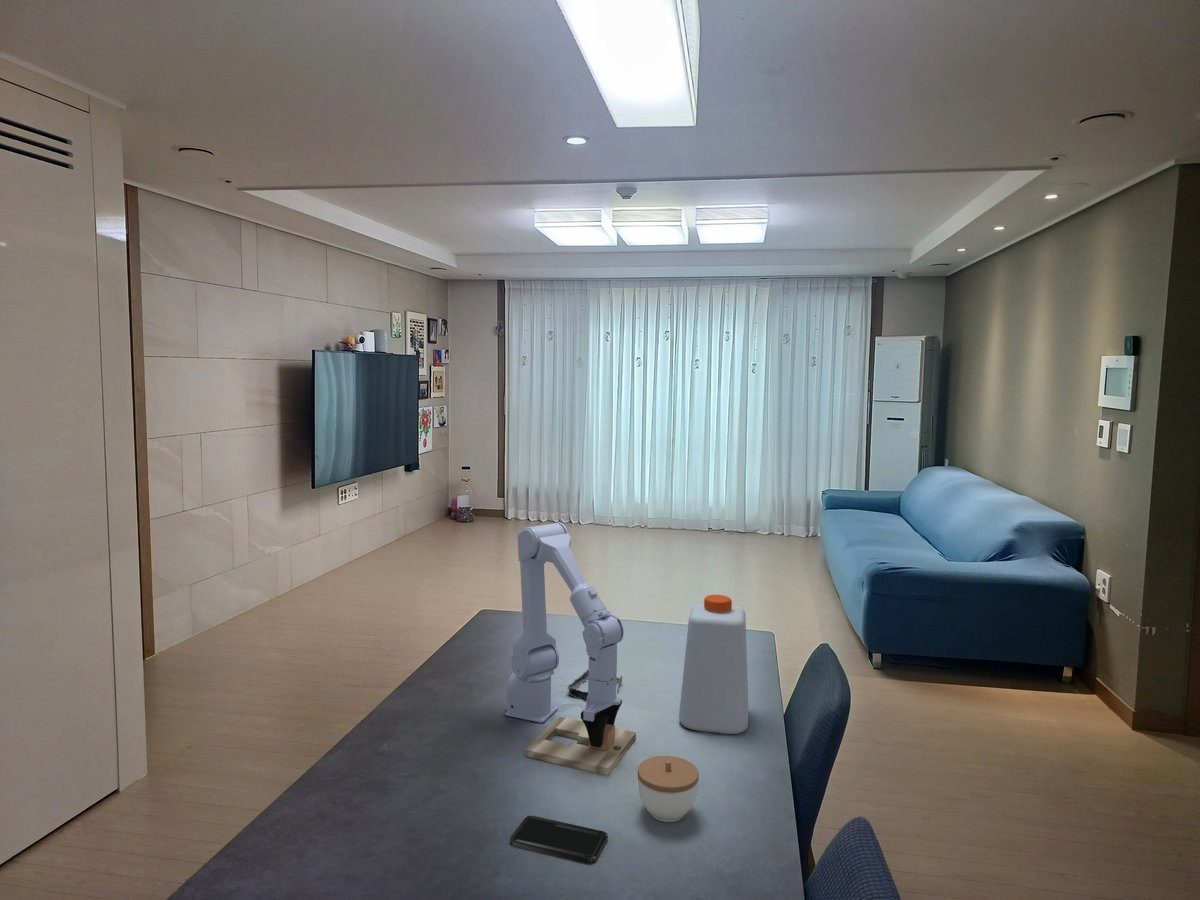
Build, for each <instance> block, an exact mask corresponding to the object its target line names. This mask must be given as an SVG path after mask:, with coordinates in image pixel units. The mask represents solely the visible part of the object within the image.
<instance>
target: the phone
mask: <svg viewBox="0 0 1200 900" xmlns="http://www.w3.org/2000/svg"><path fill="white" fill-rule="evenodd" d="M608 835H609V834H608V833H607V832H605V831H604V830H599V829H595V828H589V827H585V826H581V825H576V824H572V823H569V822H568V823H567V822H564V821H558V820H554V819H549V818H545V817H540V816H536V815H527V816H526V817H525V818H524V819H523V820H522V821H521V823H519V826H517V827H516V829H515V830H514V832H513V833H512V834H511V836H510V839H509V840H510V842H509V843H510V845H512V846H513V847H517V848H521V849H525V850H530V851H534V852H538V853H542V854H546V855H549V856H550V855H551V856H553V857H554V856H555V857H558V858H562V859H567V860H571V861H574V862H575V861H576V862H579V863H583V864H588V865H590V864H591V865H592V864H594V863H596V862H597V860H598V859H599V856H600V855H601V854H602V852H603V850H604V848H605V846H606V844H607V842H608V840H609V839H608V838H609V837H608Z"/></svg>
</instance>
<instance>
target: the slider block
mask: <svg viewBox="0 0 1200 900" xmlns="http://www.w3.org/2000/svg"><path fill="white" fill-rule="evenodd" d="M615 728H616V725H615V724H614V725H610V724H606V726H605V730H604V736H603V742H602V746H601V747H600V748H597V747H593V746H591V744H590V741H589V745H588V746H589V747H593V748H597V749H602V750H607V751H608V750H609V749H610V748H611V747H612V745H613V743H614V742H615Z"/></svg>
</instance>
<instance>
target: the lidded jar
mask: <svg viewBox="0 0 1200 900" xmlns="http://www.w3.org/2000/svg"><path fill="white" fill-rule="evenodd" d="M699 773H700V772H699V769H698V768H697V766H696V765H695V764H693V763H692V762H691V761H689V760H688V759H687V760H686V758H685V759H684V758H681V757H679V756H678V757H677V756H674V755H673V756H672V755H658V756H652V757H648V758H647V759H644V760H643V761H641V763H640V764H639V765H638V767H637V777H638V778H637V785H638V795H639V798H640V801H641V803H642V805H643V807H644V808H645V809H646V810H647V812H648V813H650V816H651V817H652V818H653V819H655V820H657V821H659V822H663V823H675V822H678V821H680V820H681V819H683V817H684V816H685V815H687V814H688V813H689V812H690V811H691V809H692V807H694V804H695V802H696V798H697V796H698V789H699V788H698V784H699V783H698V782H699V779H700V778H699V775H700V774H699Z"/></svg>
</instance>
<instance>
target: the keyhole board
mask: <svg viewBox="0 0 1200 900" xmlns="http://www.w3.org/2000/svg"><path fill="white" fill-rule="evenodd" d="M559 735H560V737H565V738H569V739H573V738H574V739H573V740H577V741H576V743H575V742H570V743H569V744H565V743H560V742H556V741H552V739H553V738H554V737H555V736H559ZM636 739H637V732H635V731H631V730H626V729H622V728H618V727H617V728H616V727H615V742H614V743H613V745H612V747H611V748H610V749H609V750H608V751H607V750H602V749H597V748H593V747H589V745H587V744H589V736H588V732H587V729H586V726H585V724H584V722H583V721H582V720H578V719H573V718H568V717H565V716H558V717H557V718H555V720H554V721H553V722H551V724H549V726H547V727H546V728H545V729H544V730H543V731H542V733H541V734H539V735H538V736H537V737H536V738H535V739H534V740H533V741H532V742H531V743H529V745H528V746H527V747H526V748H525V749H524V757H525V756H528V757H527V758H530V757H532V758H531V759H534V758H535V759H534V760H538V759H540V761H542V760H543V761H544V762H546V763H551V764H557V765H560V766H564V767H570V768H573V769H578V770H583V771H586V772H591V773H596V774H599V775H603V776H609V775H610V774H611V773H612V771H613V770H614V769H615V767H616V766H617V765H618V763H619V762H620V761H621V759H622V758H623V757H624V756H625V754H626V753H627V751H628V750H629V749H630V747H631V746H632V745H631V744H633V743H634V742H635V741H636ZM634 740H635V741H634ZM633 741H634V742H633ZM582 743H584V744H582ZM630 745H631V746H630ZM628 748H629V749H628ZM627 749H628V750H627ZM625 752H626V753H625Z"/></svg>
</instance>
